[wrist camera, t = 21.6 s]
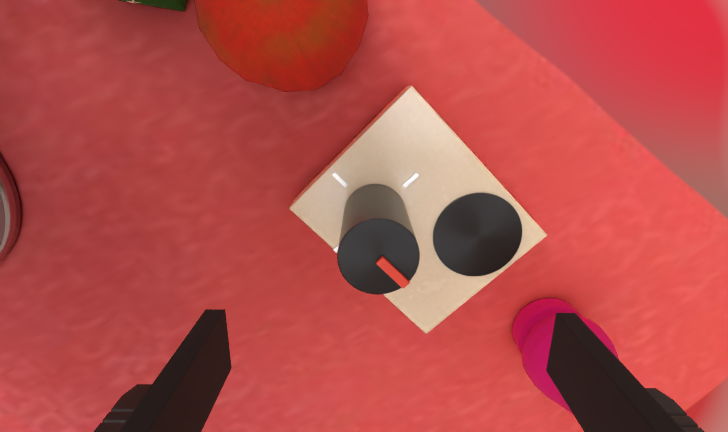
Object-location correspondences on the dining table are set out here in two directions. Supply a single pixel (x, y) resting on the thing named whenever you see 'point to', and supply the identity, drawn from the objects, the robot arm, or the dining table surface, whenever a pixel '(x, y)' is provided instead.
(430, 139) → the hob
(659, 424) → the robot arm
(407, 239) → the hob knob
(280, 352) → the dining table surface
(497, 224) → the burner
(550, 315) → the pepper mill
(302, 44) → the apple
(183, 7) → the milk carton
